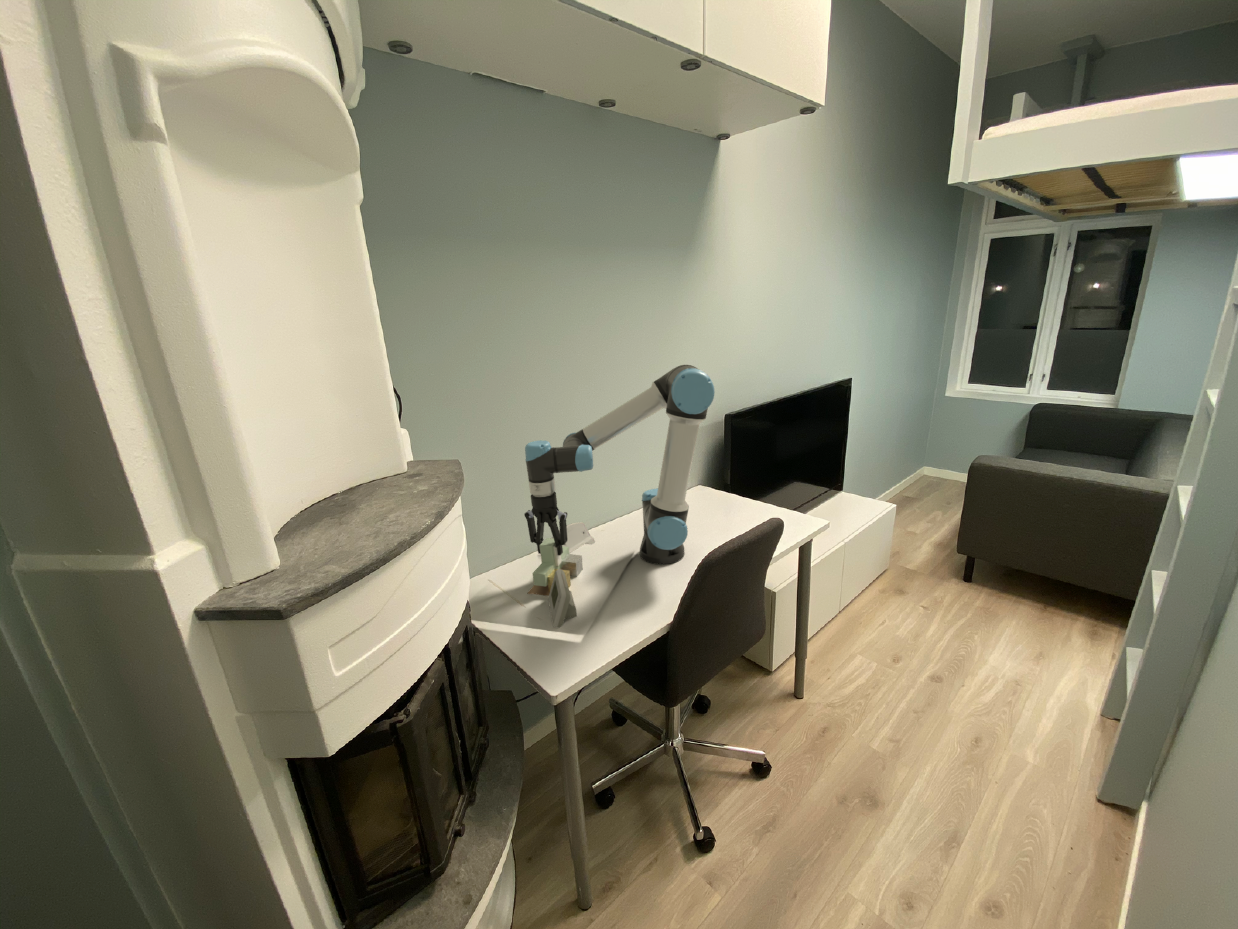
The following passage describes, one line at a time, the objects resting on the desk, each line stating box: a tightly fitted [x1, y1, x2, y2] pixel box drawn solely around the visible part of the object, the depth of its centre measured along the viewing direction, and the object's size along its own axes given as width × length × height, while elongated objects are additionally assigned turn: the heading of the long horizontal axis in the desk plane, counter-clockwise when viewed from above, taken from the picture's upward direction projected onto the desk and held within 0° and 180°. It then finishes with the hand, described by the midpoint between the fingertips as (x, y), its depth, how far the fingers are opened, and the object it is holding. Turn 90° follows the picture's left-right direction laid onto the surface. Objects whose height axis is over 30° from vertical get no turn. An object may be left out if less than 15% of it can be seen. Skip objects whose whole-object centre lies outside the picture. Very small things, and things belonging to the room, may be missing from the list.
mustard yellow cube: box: [547, 569, 572, 592], centre depth 156 cm, size 5×5×5 cm
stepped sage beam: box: [532, 537, 569, 586], centre depth 160 cm, size 4×18×10 cm, turn 162°
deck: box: [526, 568, 562, 597], centre depth 163 cm, size 9×19×2 cm, turn 162°
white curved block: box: [551, 521, 596, 554], centre depth 184 cm, size 17×5×10 cm, turn 145°
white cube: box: [561, 553, 584, 578], centre depth 165 cm, size 5×5×5 cm
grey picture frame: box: [547, 569, 578, 629], centre depth 144 cm, size 16×9×11 cm, turn 1°
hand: (551, 563), depth 161 cm, fingers closed on stepped sage beam, 4 cm apart
